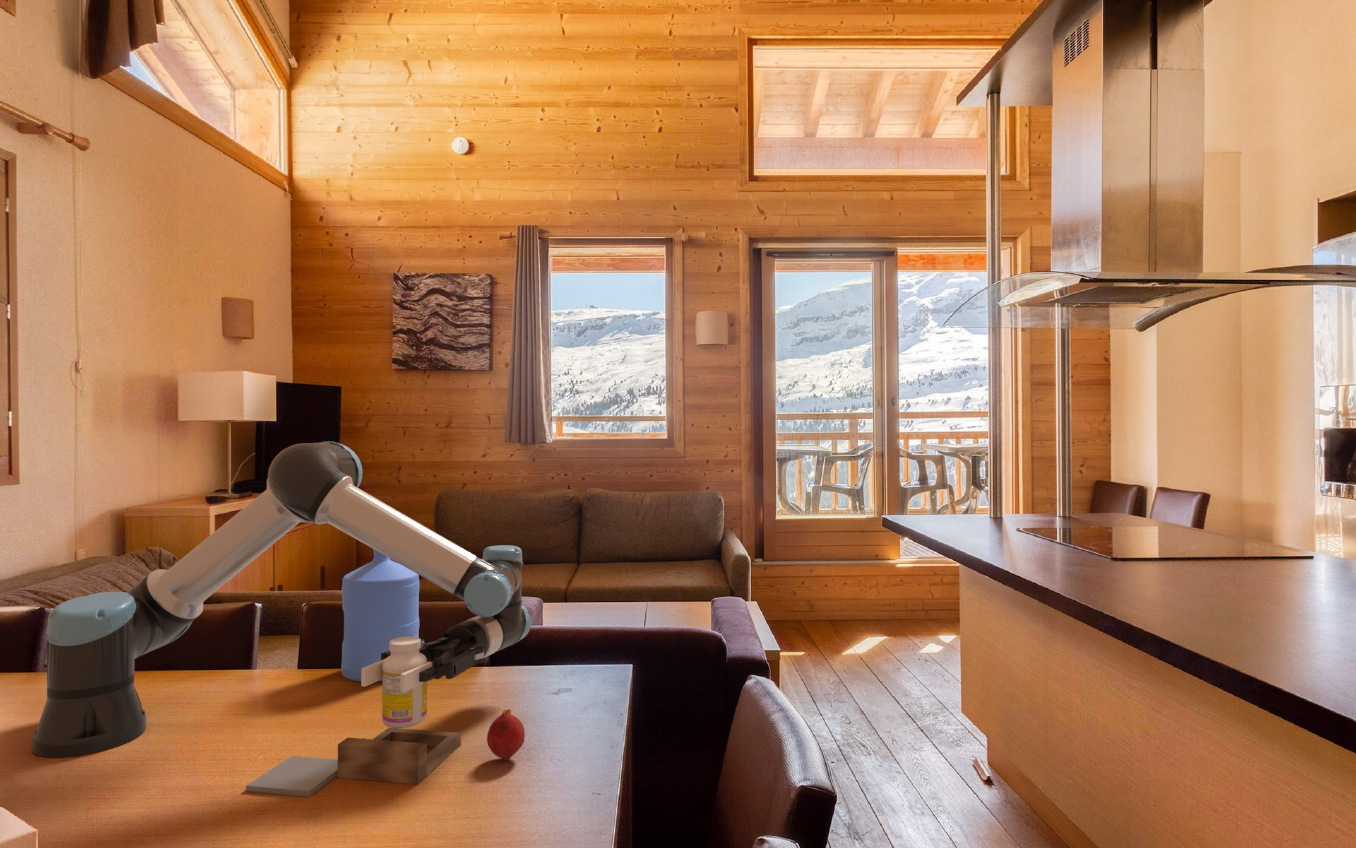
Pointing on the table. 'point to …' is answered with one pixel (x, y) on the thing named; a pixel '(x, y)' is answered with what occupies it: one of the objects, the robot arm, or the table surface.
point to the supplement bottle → (396, 704)
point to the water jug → (377, 612)
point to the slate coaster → (296, 776)
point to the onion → (506, 735)
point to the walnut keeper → (395, 755)
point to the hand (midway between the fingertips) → (382, 680)
